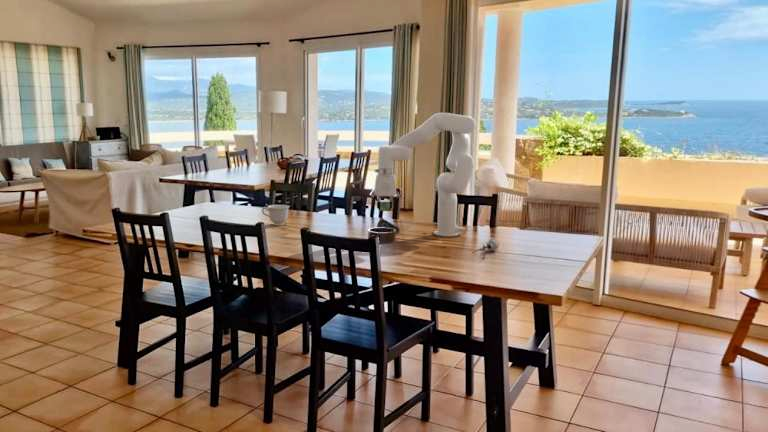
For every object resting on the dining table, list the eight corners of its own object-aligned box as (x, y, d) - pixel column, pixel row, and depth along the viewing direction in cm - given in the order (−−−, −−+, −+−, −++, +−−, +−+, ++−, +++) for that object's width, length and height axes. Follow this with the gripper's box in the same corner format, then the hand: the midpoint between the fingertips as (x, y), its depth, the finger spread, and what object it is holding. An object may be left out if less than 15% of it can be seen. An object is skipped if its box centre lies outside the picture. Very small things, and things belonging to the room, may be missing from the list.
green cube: (388, 209, 280) (389, 200, 279) (389, 211, 276) (389, 201, 275) (379, 209, 280) (379, 200, 279) (380, 210, 275) (380, 201, 274)
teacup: (261, 222, 318) (261, 205, 317) (288, 222, 322) (288, 204, 321) (262, 227, 307) (262, 208, 305) (291, 226, 311) (290, 207, 309)
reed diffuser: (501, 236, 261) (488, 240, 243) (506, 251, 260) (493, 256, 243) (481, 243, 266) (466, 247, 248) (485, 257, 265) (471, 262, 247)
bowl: (394, 237, 287) (394, 227, 286) (396, 243, 274) (396, 232, 273) (367, 237, 286) (367, 227, 285) (368, 243, 273) (368, 232, 272)
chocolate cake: (402, 231, 303) (387, 214, 305) (401, 230, 296) (385, 212, 298) (388, 243, 303) (373, 226, 305) (387, 242, 296) (372, 225, 298)
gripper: (368, 172, 270) (367, 211, 273) (404, 173, 271) (402, 211, 274) (367, 170, 277) (366, 208, 281) (402, 171, 279) (401, 208, 282)
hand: (384, 209), depth 278 cm, fingers closed on green cube, 4 cm apart
